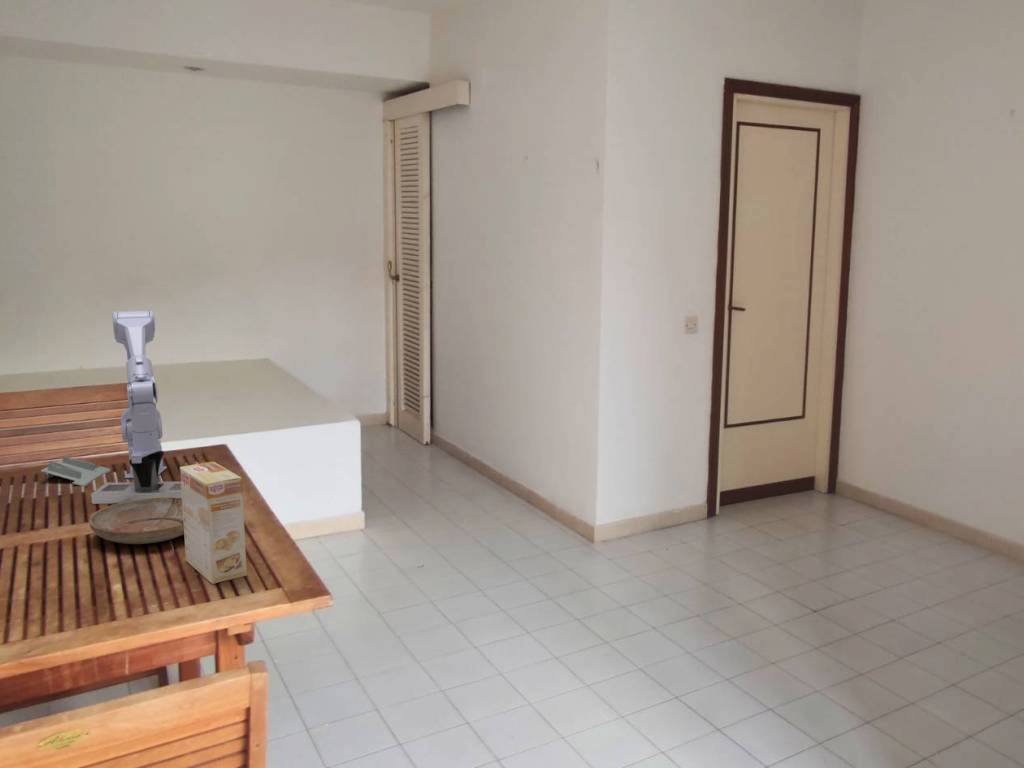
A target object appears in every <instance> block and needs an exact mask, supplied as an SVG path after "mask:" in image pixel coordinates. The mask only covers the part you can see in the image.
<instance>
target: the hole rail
mask: <svg viewBox="0 0 1024 768" xmlns="http://www.w3.org/2000/svg"><path fill="white" fill-rule="evenodd" d="M157 483H158V490H153V491H135V484H134V481H133V482H131V481H127V482H105V483H104V484H102V485H101V486H100V487H98V488H97V489H96V490H94V491H93V492H92V493H90V498H91V504H92V505H95V504H96V505H98V504H99V505H100V504H101V505H102V504H107V505H109V504H110V505H112V504H119V503H123V502H127V501H133V500H139V499H147V498H159V497H175V498H182V493H181V480H180V481H157Z"/></svg>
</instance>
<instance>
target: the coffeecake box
mask: <svg viewBox="0 0 1024 768" xmlns="http://www.w3.org/2000/svg"><path fill="white" fill-rule="evenodd" d="M179 475H180V476H179V478H180V481H181V493H182V508H183V523H184V535H183V536H184V551H185V561H186V562H187V563H188V564H189V565H190V566H191V567H192V568H194V569H195V570H196V571H197V572H198V573H199V574H201V575H202V576H203V577H204V578H205V579H206V580H207V581H208V582H209V583H211V584H212V585H215V584H217V583H222V582H225V581H230V580H236V579H240V578H242V577H246V576H248V570H247V553H246V552H247V549H246V536H245V535H246V533H245V531H246V530H245V515H244V513H245V512H244V511H245V510H244V499H243V498H244V497H243V494H244V493H243V478H242V477H241V476H240V475H238V474H236V473H234V472H232V471H231V470H229V469H227V468H226V467H224V466H222V465H221V464H218V463H217V462H215V461H210V462H209V461H208V462H207V461H206V462H201V463H195V464H189V465H184V466H180V467H179Z"/></svg>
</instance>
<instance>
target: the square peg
mask: <svg viewBox="0 0 1024 768" xmlns="http://www.w3.org/2000/svg"><path fill="white" fill-rule="evenodd" d="M133 475H134V478H133V482H134V484H135V491H153V490H158V483H157V482H158V478H157V474H156V465H155V463H154V465H153V469H152V481H151V486H150V487H141V486H140V483H139V480H138V477H137V475H136V472H135V471H134V469H133Z"/></svg>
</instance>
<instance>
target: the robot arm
mask: <svg viewBox="0 0 1024 768" xmlns="http://www.w3.org/2000/svg"><path fill="white" fill-rule="evenodd" d="M111 316H112V327H113V328H112V329H113V335H114V340H115V342H116V343H117V344H118V343H119V344H122V345H123V347H124V349H125V350H126V356H127V361H126V363H125V365H126V366H125V367H126V375H127V376H126V377H127V384H126V393H127V394H126V395H127V403H128V405H129V407H128V408H126V409H125V410H124V411H122V413H121V415H120V425H121V429H120V430H121V438H122V439H121V440H122V442H124V443H127V447H128V459H129V471H130V472H129V473H127V474H126V475H125V476H124V478H125V479H134V475H133V469H134V471H135V472H136V475H137V477H138V480H139V483H140V486H141V487H150V486H151V481H152V469H153V465H154V463H155V465H156V474H157V479H158V478H159V475H160V474H161V473H163V472H164V471H165V470H166V469H167V468H168V467H167V466H164V464H163V463H164V461H163V459H164V458H163V457H164V455H165V452H164V451H163V447H162V444H161V439H162V438H163V424H162V423H163V422H162V417H161V413H160V411H159V409H157V405H156V404H158V401H159V400H158V399H159V398H158V386H157V383H156V380H155V376H154V375H153V374H154V372H153V366H152V360H151V359H150V358H149V357H146V346H147V344H148V343H150V342H152V341H154V338H155V333H156V321H155V313H154V311H153V310H151V309H149V310H132V311H131V310H130V311H129V310H128V311H117V310H115V311H114V310H113V313H112V315H111ZM154 399H155V401H154Z"/></svg>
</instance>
